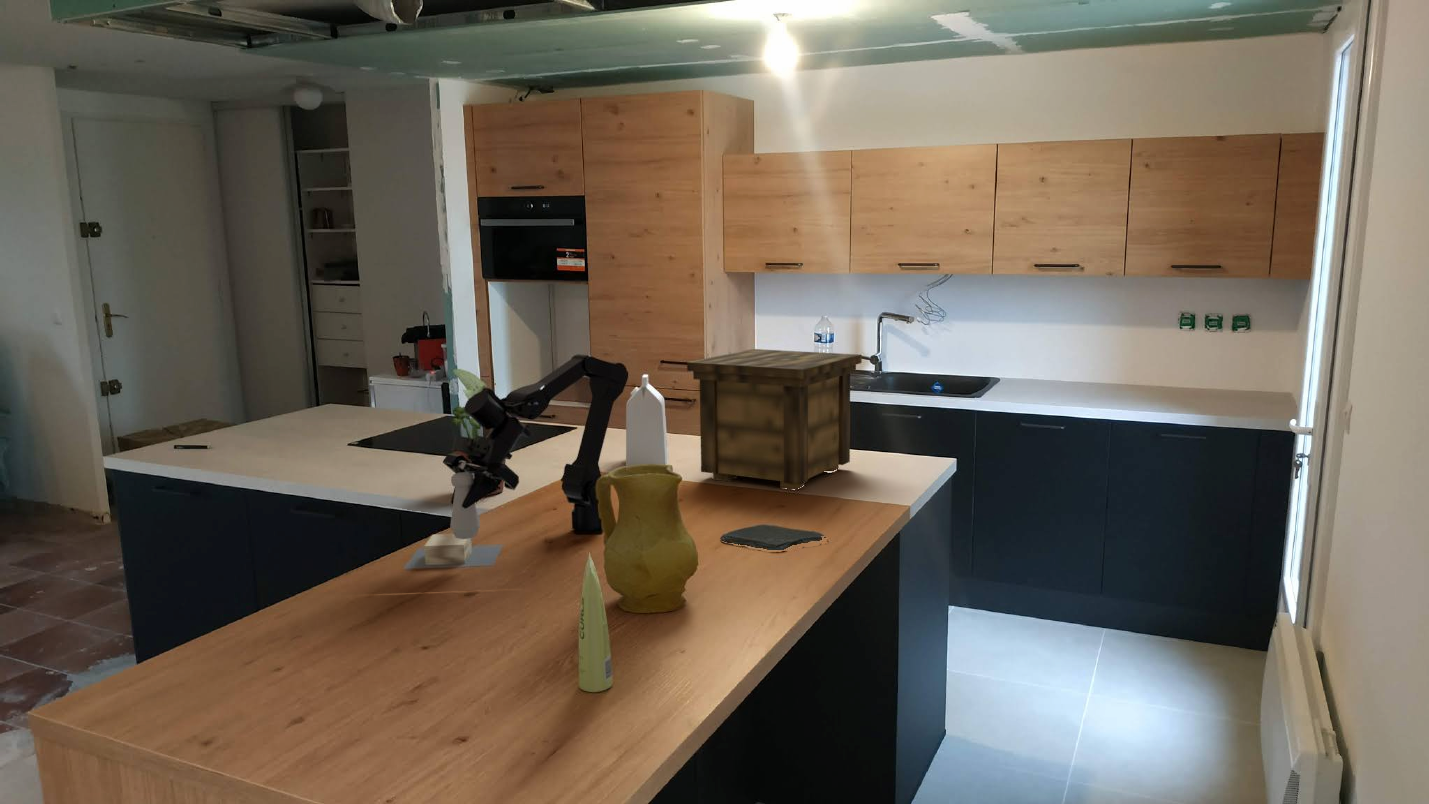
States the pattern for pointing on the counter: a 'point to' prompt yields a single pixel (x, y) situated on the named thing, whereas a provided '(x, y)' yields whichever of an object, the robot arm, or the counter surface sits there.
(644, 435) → the milk
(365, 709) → the counter surface
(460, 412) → the potted plant
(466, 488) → the salt shaker
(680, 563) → the pitcher
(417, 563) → the mat
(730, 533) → the stone slab
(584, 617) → the tube
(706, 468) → the crate
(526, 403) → the robot arm
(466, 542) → the beech block
